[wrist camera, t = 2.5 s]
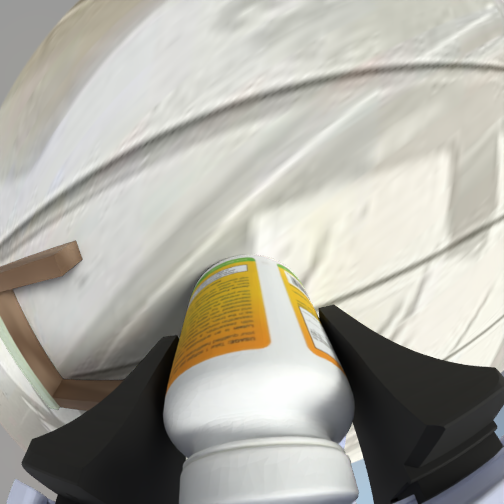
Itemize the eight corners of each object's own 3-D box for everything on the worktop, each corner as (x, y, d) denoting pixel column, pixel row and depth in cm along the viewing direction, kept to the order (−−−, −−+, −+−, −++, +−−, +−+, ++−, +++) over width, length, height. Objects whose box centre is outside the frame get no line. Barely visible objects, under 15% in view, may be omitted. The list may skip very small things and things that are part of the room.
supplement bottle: (183, 336, 13) (147, 522, 4) (204, 238, 12) (136, 464, 2) (283, 355, 14) (321, 527, 5) (321, 267, 12) (439, 453, 3)
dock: (147, 390, 15) (139, 417, 12) (61, 387, 15) (49, 408, 12) (75, 240, 11) (50, 257, 9) (-5, 268, 11) (-26, 283, 9)
